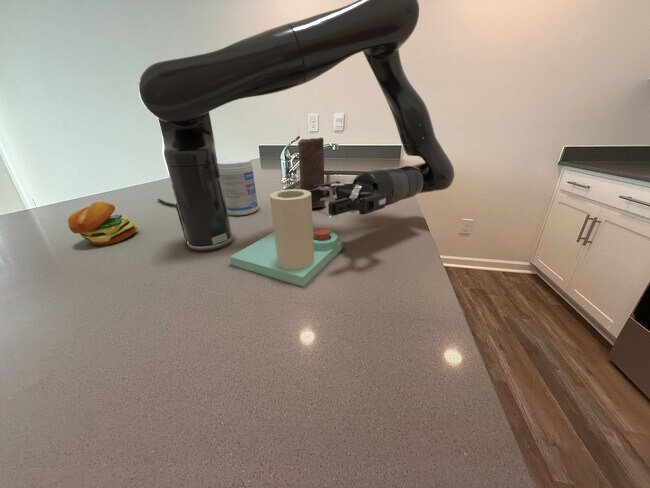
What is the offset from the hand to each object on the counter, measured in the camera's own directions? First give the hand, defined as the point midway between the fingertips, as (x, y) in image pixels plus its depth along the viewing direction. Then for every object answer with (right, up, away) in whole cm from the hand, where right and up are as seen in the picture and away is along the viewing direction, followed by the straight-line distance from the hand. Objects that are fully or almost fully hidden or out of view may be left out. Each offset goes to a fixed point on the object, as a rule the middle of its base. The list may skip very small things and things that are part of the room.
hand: (314, 203), depth 44 cm
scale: (-5, -9, +7) cm, 13 cm away
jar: (-3, -10, +2) cm, 11 cm away
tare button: (+1, -6, +7) cm, 9 cm away
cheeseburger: (-49, -6, +18) cm, 53 cm away
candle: (-2, +4, +36) cm, 36 cm away
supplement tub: (-23, +3, +34) cm, 42 cm away
